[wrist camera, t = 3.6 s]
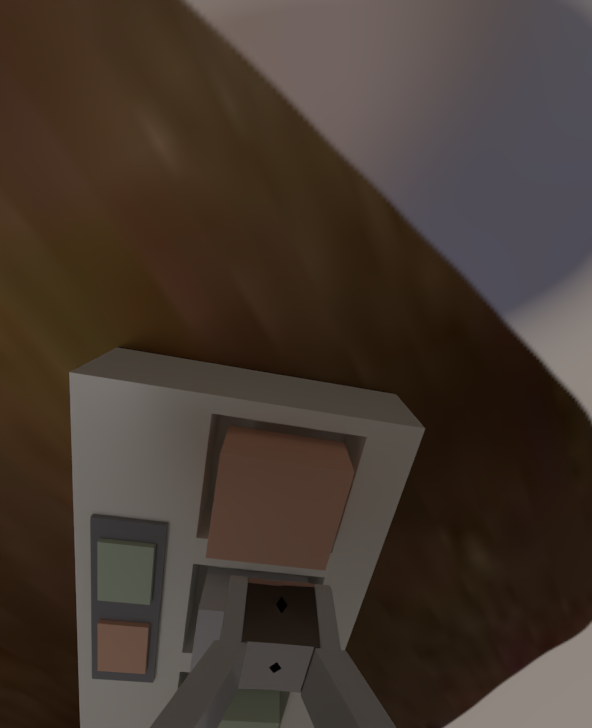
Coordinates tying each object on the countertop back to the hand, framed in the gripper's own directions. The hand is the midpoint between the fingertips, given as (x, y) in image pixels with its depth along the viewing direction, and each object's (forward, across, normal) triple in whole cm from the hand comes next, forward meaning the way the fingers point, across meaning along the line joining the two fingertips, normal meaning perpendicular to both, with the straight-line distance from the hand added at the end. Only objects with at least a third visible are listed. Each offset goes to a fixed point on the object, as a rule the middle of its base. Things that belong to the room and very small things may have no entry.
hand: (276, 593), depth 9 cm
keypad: (+8, -2, -8) cm, 11 cm away
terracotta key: (+5, 0, 0) cm, 5 cm away
